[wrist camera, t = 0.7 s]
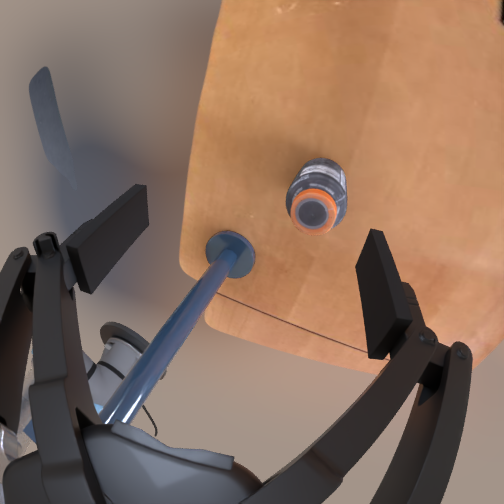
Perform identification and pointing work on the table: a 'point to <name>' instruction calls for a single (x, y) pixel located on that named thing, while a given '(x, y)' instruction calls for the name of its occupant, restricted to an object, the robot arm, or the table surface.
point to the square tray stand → (176, 328)
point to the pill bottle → (317, 197)
